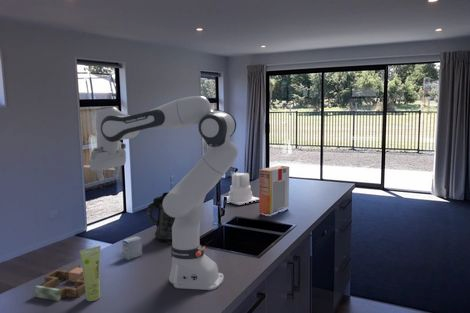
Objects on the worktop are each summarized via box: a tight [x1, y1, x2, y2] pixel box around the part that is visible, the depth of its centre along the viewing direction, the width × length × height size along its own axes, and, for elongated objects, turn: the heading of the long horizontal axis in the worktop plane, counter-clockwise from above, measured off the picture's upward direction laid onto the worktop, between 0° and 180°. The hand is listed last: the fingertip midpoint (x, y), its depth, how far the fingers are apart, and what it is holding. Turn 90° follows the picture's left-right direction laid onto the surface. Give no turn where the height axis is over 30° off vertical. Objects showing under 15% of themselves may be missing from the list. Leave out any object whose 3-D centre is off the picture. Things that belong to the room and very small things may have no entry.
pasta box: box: [258, 165, 290, 215], centre depth 259 cm, size 23×8×30 cm, turn 140°
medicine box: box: [122, 236, 143, 261], centre depth 183 cm, size 8×4×9 cm, turn 141°
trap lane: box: [34, 264, 86, 302], centre depth 154 cm, size 21×23×4 cm
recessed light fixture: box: [225, 172, 259, 206], centre depth 290 cm, size 25×22×21 cm
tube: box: [79, 245, 101, 302], centre depth 142 cm, size 6×5×20 cm
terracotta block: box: [68, 267, 84, 283], centre depth 159 cm, size 5×5×4 cm
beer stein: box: [146, 191, 175, 245], centre depth 206 cm, size 16×19×25 cm
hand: (108, 178), depth 164 cm, fingers open, 8 cm apart
